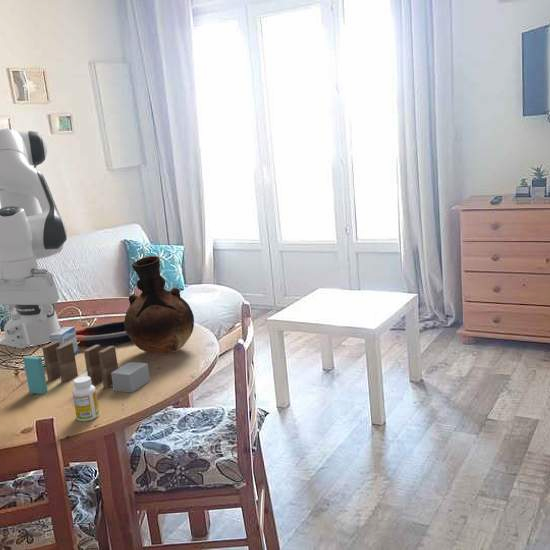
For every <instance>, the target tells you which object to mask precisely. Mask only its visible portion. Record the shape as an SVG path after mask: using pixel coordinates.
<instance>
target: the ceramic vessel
mask: <svg viewBox="0 0 550 550" xmlns="http://www.w3.org/2000/svg"><path fill="white" fill-rule="evenodd" d="M160 259H161V258H160V257H159V256H158V255H150V256H144V257H141V258H139V259H138V260H136V261H134V262H132V264H131V267H132V269H133V270H134V272H135V273H136V274H137V277H138V280H137V282H136V287H137V289H138V290H140V291H141V293H140V295H136V294H134V293H133V294H129V296H128V302H129V307H128V309H127V310H126V312H125V316H124V320H123V321H124V327H125V330H126V333H127V335H128V336H129V338H130V339H131V340H132V341H131V342H132V343H133V345H135V347H137V348H138V349H139V350H141V351H142V352H143V351H144V352H146V353H147V354H151V355H153V354H154V355H165V354H170V353H173V352H177V351H180V349H182V348H183V346H184V345H185V344H186V343H187V342H188V341H189V339H190V338H191V335H192V333H193V331H194V328H195V317H194V313H193V310H192V309H191V307H190V304H189V303H188V302H187V301H186V300H185V299H184V298H182V297H181V293H180V290H179V288H177V287H173V288H172V289H170V290H168V289H165V285H166V280H165V278H164V277H163V276H162V275H161V260H160Z"/></svg>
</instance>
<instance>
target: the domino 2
mask: <svg viewBox="0 0 550 550" xmlns="http://www.w3.org/2000/svg"><path fill="white" fill-rule="evenodd" d="M58 347H60V343H59V342H56V341H55V342H53V343H49V344H45V345H43V346H42V349H41V350H42V353H43V359H44V365H45V371H46V376H47V381H51V382H53V381H55V380H58V379H59V378H61V377H60V370H59V365H58V359H57V353H56V348H58ZM58 377H59V378H58Z"/></svg>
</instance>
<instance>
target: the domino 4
mask: <svg viewBox="0 0 550 550" xmlns="http://www.w3.org/2000/svg"><path fill="white" fill-rule="evenodd" d="M101 350H102V346H101V345H94V346H92V347H87V349H85V350H83V354H84V355H83V356H84V361H85V366H86V374H87V376H89V377H90V378H91V385H93V386H94V387H95V386H96V385H97V384H99V383H101V382H103V379H102V373H101V366H100V360H99V353H98V352H99V351H101Z"/></svg>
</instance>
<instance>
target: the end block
mask: <svg viewBox="0 0 550 550" xmlns="http://www.w3.org/2000/svg"><path fill="white" fill-rule="evenodd" d="M111 376H112V383H113V385H112V387H113V389H112V390H113V391H115V392H121V393H122V392H123V393H133V392H136V391H137V390H138V389H140V388H141V387H143V386H144V385H147V383H150V382H151V380H150V372H149V365H148V363H144V362H142V363H141V362H132V361H130V362H127V363H126V364H124V365H122V366H120V367H118V369H117V370H115V371H113V372H112V373H111ZM142 385H143V386H142Z"/></svg>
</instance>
